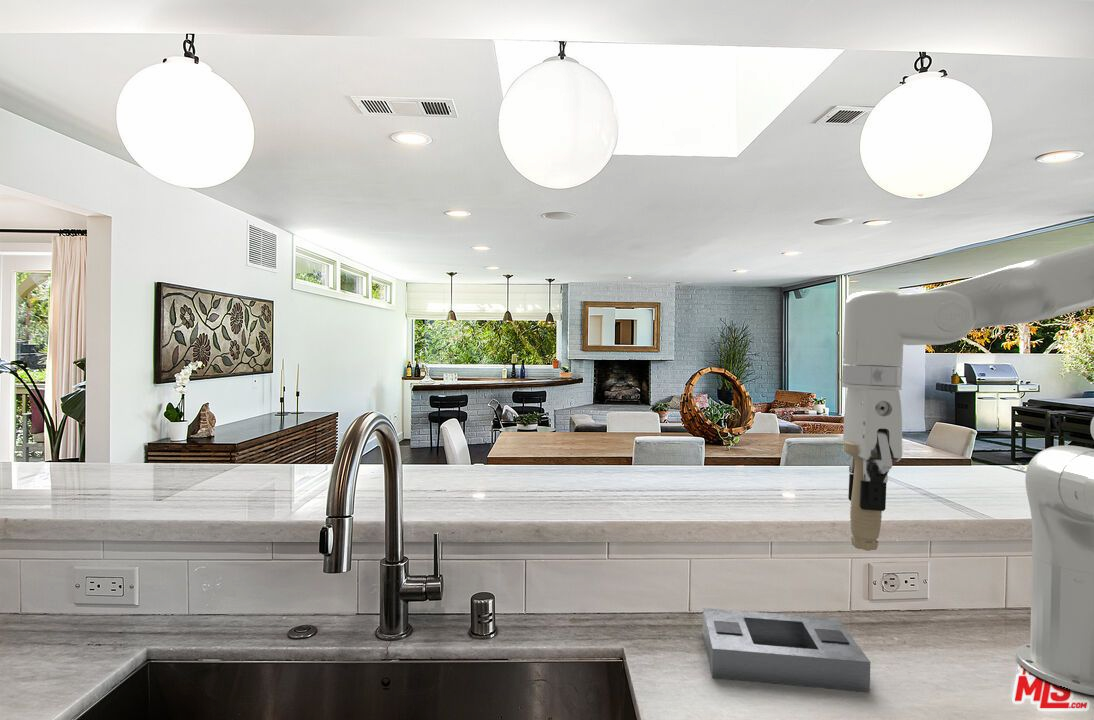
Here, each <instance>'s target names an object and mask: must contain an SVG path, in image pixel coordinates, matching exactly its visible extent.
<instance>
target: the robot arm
mask: <svg viewBox="0 0 1094 720" xmlns="http://www.w3.org/2000/svg"><path fill="white" fill-rule="evenodd" d="M1093 307H1094V242H1093V243H1089V244H1085V245H1081V246H1078V247H1074V248H1070V249H1065V250H1063V251H1058V252H1056V253H1051V254H1048V255H1045V256H1040V257H1036V258H1033V259H1032V258H1031V259H1029V260H1025V261H1022V262H1018V263H1015V264H1011V265H1007V266H1005V267H1002V268H998V269H996V270H993V271H990V272H987V273H984V274H980V275H977V276H974V277H970V278H967V279H964V280H961V281H960V280H959V281H957V282H954V283H953V282H952V283H949V284H945V285H941V286H939V287H934V288H931V289H927V290H923V291H919V292H905V293H904V292H903V293H901V292H900V293H899V292H894V291H887V290H873V291H871V290H868V291H867V290H866V291H859V292H854V293H851V294H850V295H848V297H847V299H846V300H845V305H844V323H843V324H844V325H843V347H842V349H843V350H842V351H843V352H842V372H841V375H842V376H841V388H847V389H846V396H845V404H844V414H843V415H844V416H843V431H842V433H843V435H842V436H843V437H842V438H843V441H842V442H843V445H844V441H848V442H850V443H853V444H855V445H857V450H858V456H859V457H860V458H862V459H863V479H864V481H862V480H861V482H860V508H861V509H863V510H873V511H882V512H885V510H886V503H887V502H886V501H887V483H888V481H889V480H888V478H889V477H888V473H889V472H890V470H891V469H892V468H893V462H899V461H901V460H902V458H903V416H902V415H903V414H902V413H903V412H902V402H901V401H902V400H901V395H900V391H901V390H902V385H903V382H902V381H903V363H904V362H903V361H904V346H939V345H947V344H948V345H949V344H952V343H955V342H957V341H960V340H961V339H963V338H965V337H966V336H967V335H969V334H970V333H971V332H972V331H973V330H976V329H981V328H987V327H988V328H989V327H998V326H1006V325H1007V326H1008V325H1018V324H1026V323H1027V324H1028V323H1033V322H1038V321H1045V320H1048V319H1053V318H1056V317H1059V316H1063V315H1067V314H1071V313H1074V312H1077V311H1082V310H1087V309H1089V308H1093ZM1090 434H1091V437H1092V438H1093V440H1094V416H1093V417H1092V419H1091V421H1090ZM891 454H892V455H891ZM872 455H878V459H869V458H870V456H872ZM848 460H849V463H848V464H849V466H848V472H849V475H848V496H847V497H848V500H849V501H850V502H851V497H852V488H853V479H854V468H855V462H854V458H853V457H852V456H851V455H849V457H848ZM870 463H873V464H876V465H873V466H872V468H871V470H870ZM1024 482H1025V490H1026V494H1027V495H1026V496H1027V499H1028V505H1029V510H1030V517H1031V528H1032V529H1031V531H1032V532H1031V533H1032V541H1031V542H1032V543H1031V544H1032V547H1031V550H1032V551H1031V585H1030V586H1031V587H1030V588H1031V589H1030V592H1031V593H1030V595H1031V596H1030V597H1031V598H1030V631H1029V633H1030V637H1029V638H1030V639H1029V640H1030V641H1029V643H1027V644H1022V645H1019V646H1018V647H1017V649H1016V651H1015V652H1016V653H1015V658H1016V661H1017V662H1018V664H1019V665H1020V666H1021V667H1023V668H1024V669H1025V670H1026V671H1028V672H1029V673H1030V674H1032V675H1034V676H1036V677H1037V678H1039V679H1041V680H1043V681H1046V682H1048V683H1050V684H1053V685H1055V686H1058V687H1060V686H1062V687H1061V688H1063V687H1065V688H1064V689H1066V688H1068V689H1067V690H1069V689H1070V691H1072V692H1073V691H1074V692H1077V693H1081V694H1084V695H1085V694H1086V695H1088V696H1089V695H1090V696H1094V448H1090V447H1084V446H1079V445H1078V446H1077V445H1056V446H1050V447H1048V448H1045V449H1043V450H1041V451H1039V452H1038V453H1036V454H1035V455H1034V456H1033V457H1032V458H1031V460H1030V461H1029V463H1028V465H1027V467H1026V469H1025V481H1024Z"/></svg>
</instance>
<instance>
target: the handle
mask: <svg viewBox="0 0 1094 720" xmlns="http://www.w3.org/2000/svg"><path fill="white" fill-rule="evenodd" d="M843 451H844V452H845V453H846V454H848V455H849V456H850V455H851V456H852V457H853V458H854V462H855V468H854V479H853V488H852V497H851V501H850V509H849V511H850V512H849V516H850V517H849V518H850V521H849V522H850V530H851V535H852V536H851V545H852V547H854V548H855V549H858V550H863V551H866V552H871V551H876V550H877V549H878V546H879V541H878V540H877V539H878V538H879V537H880V532H881V527H882V526H881V525H882V517H883V516H882V515H883V514H882V513H883V511H873V510H863V509H861V508H860V482H861V480H862V481H864V479H863V459H862V458H860V457H859V456H858V450H857V445H855V444H853V443H850V442H848V441H844V444H843ZM891 455H892V454H891ZM869 459H878V455H872V456H870V458H869ZM873 465H876V464H873V463H870V470H871V468H872V466H873Z"/></svg>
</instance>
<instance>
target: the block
mask: <svg viewBox="0 0 1094 720" xmlns="http://www.w3.org/2000/svg"><path fill="white" fill-rule="evenodd" d="M702 637H703V641H704V646H705V650H706V655H708V656H707V660H708V665H709V669H710V674H711V678H712V679H724V680H733V681H735V680H736V681H744V682H754V683H755V682H756V683H768V684H776V685H787V686H788V685H789V686H796V687H797V686H798V687H808V688H819V689H828V690H829V689H830V690H839V691H840V690H841V691H853V692H861V693H871V660H870V659H869V658H868V657H867V655H866V654H865V652H864V651H863V650H862V648H861V647H860V645H858V643H857V642H856V640H855V639H854V638H853V636H852V634H850V632H849V631H848V629H847V628H846V627H845V626H844V624H843V623H842V622H841V620H840V619H839V617H837V618H836V617H828V616H827V617H825V616H814V615H813V616H811V615H798V614H785V613H775V612H774V613H773V612H772V613H771V612H759V611H748V610H747V611H746V610H736V609H735V610H734V609H721V608H706V607H705V608H704V607H702Z"/></svg>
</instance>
